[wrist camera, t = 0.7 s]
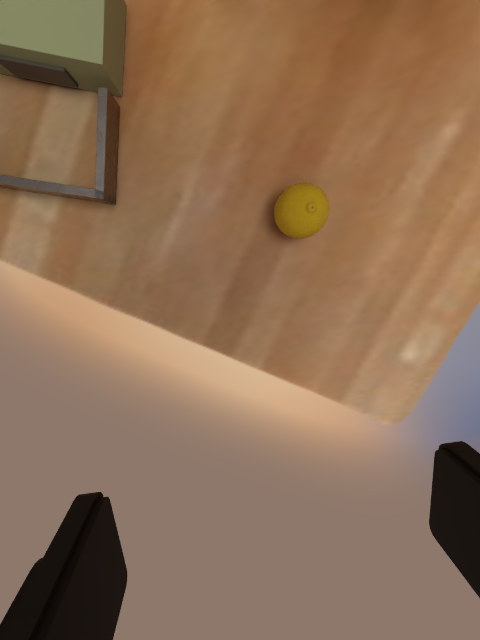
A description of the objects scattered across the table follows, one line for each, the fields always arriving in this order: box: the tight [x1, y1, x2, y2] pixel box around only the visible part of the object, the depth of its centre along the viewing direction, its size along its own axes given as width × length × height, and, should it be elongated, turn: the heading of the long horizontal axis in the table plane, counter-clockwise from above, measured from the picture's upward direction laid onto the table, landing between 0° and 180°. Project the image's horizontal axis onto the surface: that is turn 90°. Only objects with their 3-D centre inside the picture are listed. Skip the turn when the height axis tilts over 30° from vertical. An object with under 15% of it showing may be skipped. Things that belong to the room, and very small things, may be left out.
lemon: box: [274, 183, 329, 238], centre depth 33 cm, size 6×6×8 cm
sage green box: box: [0, 0, 126, 97], centre depth 28 cm, size 8×14×6 cm, turn 82°
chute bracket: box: [0, 87, 120, 205], centre depth 31 cm, size 10×14×4 cm
